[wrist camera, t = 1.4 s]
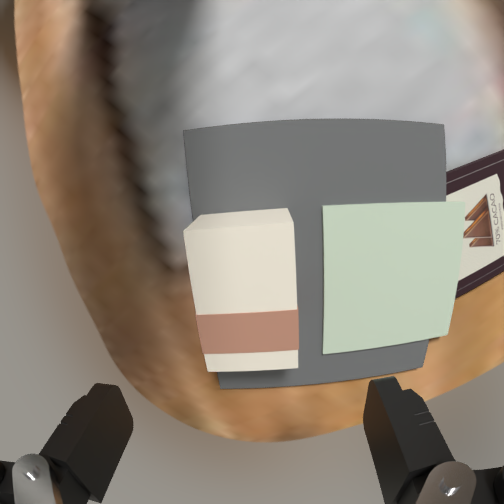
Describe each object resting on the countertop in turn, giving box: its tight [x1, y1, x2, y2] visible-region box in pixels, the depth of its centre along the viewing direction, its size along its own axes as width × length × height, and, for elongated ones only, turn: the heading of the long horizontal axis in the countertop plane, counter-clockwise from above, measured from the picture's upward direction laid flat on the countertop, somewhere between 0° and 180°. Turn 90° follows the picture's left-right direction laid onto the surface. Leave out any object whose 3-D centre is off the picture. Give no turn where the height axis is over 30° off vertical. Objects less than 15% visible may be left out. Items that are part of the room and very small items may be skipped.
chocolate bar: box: [446, 150, 504, 298], centre depth 17 cm, size 9×1×18 cm
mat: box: [183, 119, 465, 389], centre depth 19 cm, size 18×18×1 cm
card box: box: [183, 208, 299, 372], centre depth 17 cm, size 8×5×4 cm, turn 5°
